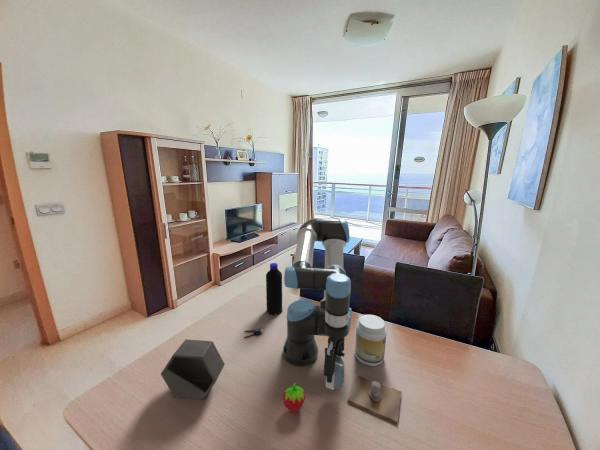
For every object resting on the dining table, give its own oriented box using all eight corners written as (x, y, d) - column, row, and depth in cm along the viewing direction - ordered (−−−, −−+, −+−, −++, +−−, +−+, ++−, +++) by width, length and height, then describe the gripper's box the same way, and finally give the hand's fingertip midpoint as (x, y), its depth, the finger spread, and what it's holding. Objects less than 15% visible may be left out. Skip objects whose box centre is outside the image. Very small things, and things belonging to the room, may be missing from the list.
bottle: (279, 316, 132) (279, 268, 126) (264, 314, 134) (263, 266, 128) (284, 307, 141) (283, 262, 135) (269, 305, 142) (268, 260, 136)
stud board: (347, 402, 83) (348, 388, 82) (356, 376, 94) (357, 364, 92) (397, 424, 76) (399, 410, 75) (401, 394, 86) (402, 381, 85)
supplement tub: (388, 366, 98) (392, 330, 95) (359, 368, 98) (362, 331, 94) (377, 345, 110) (380, 312, 107) (351, 346, 109) (353, 313, 106)
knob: (321, 383, 82) (321, 365, 81) (328, 369, 88) (328, 352, 86) (339, 391, 79) (340, 373, 78) (345, 376, 85) (346, 359, 83)
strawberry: (282, 402, 83) (282, 377, 81) (303, 400, 84) (304, 376, 81) (283, 419, 77) (283, 393, 75) (306, 417, 78) (306, 391, 76)
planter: (153, 384, 84) (180, 343, 79) (167, 367, 91) (192, 328, 86) (195, 410, 84) (223, 370, 80) (205, 390, 92) (232, 353, 87)
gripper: (337, 344, 68) (334, 408, 73) (355, 308, 85) (352, 363, 90) (313, 335, 71) (311, 398, 77) (335, 303, 88) (333, 356, 94)
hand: (333, 379), depth 84 cm, fingers closed on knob, 7 cm apart
